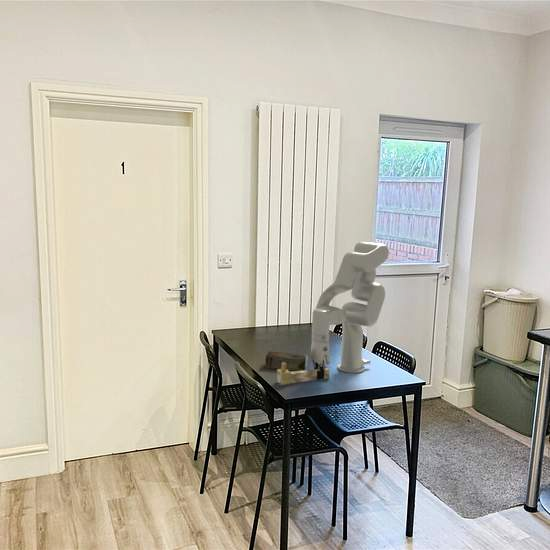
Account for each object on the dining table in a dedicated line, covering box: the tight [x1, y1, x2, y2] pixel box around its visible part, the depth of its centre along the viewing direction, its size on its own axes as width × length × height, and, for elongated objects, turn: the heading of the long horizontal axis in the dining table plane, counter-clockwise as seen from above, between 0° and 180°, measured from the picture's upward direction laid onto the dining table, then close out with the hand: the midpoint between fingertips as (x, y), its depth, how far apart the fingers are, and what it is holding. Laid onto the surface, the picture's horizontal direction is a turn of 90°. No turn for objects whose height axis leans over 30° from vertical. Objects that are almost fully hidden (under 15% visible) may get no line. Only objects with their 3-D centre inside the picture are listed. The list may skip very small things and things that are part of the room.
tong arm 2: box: [290, 368, 330, 384], centre depth 237 cm, size 18×1×4 cm, turn 113°
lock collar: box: [276, 362, 291, 386], centre depth 233 cm, size 4×5×9 cm
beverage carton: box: [265, 350, 309, 371], centre depth 255 cm, size 8×19×7 cm, turn 78°
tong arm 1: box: [289, 367, 329, 383], centre depth 239 cm, size 18×1×4 cm, turn 112°
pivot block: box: [277, 373, 282, 386], centre depth 233 cm, size 4×3×4 cm
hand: (318, 377), depth 240 cm, fingers open, 2 cm apart
